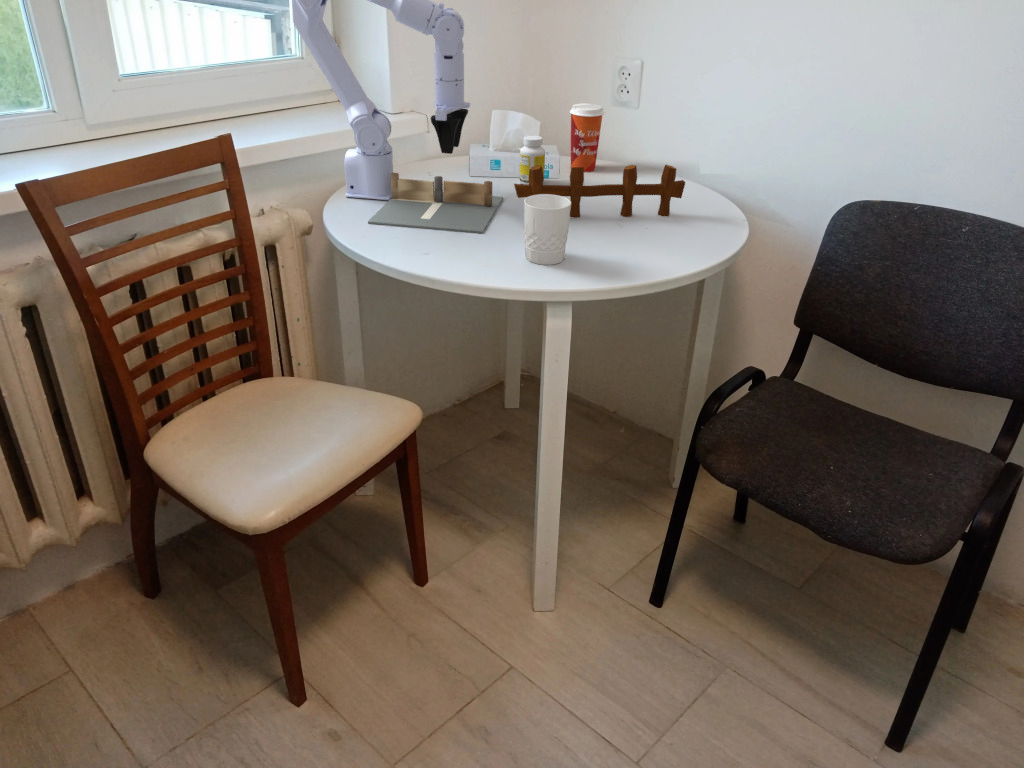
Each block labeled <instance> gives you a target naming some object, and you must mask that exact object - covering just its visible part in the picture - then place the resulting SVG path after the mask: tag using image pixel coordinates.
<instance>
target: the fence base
mask: <svg viewBox="0 0 1024 768" xmlns="http://www.w3.org/2000/svg"><path fill="white" fill-rule="evenodd" d="M443 182H444V180H443V176H441V175H436V176H434V179H433V180H421V179H408V178H400V174H399V172H393V173H391V190H392V199H405V200H418V201H430V202H434V201H435V202H436V203H442V202H443V192H444V189H443ZM434 191H435V195H434Z"/></svg>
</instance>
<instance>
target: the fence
mask: <svg viewBox="0 0 1024 768" xmlns="http://www.w3.org/2000/svg"><path fill="white" fill-rule="evenodd" d="M637 168H638V167H637V165H635V164H630V165H627V166H625V167H624V169H623V173H622V183H621V184H620V183H616V184H611V183H610V184H608V183H607V184H596V185H584V182H585V172H584V167H571V166H570V174H569V184H567V185H565V184H564V185H563V184H544V183H543V180H544V181H545V176H544V177H543V169H542V166H539V165H538V166H534V167H531V168H530V170H529V185H525V184H521V183H513V186H514V189H515V193H516V197H517V198H518V199H520V198H521V199H522V198H527V197H529V196H532V195H539V194H551V195H558V196H562V197H569V198H570V199H569V200H570V201H571V210H570V218H574V219H577V218H580V217H581V200H582V199H581V198H585V197H587V198H588V197H589V198H593V197H604V196H609V197H610V196H622V203H621V204H622V205H621V208H620V216H621V217H623V218H631V217H632V216H633V200H634V196H660V201H659V202H660V203H659V208H658V210H657V211H658V212H657V216H660V217H669V216H670V214H671V213H670V212H671V209H670V208H671V200H672V199H671V198H676V199H682V197H683V193H684V189H685V185H686V181H684V179H682V180H676V178H677V177H676V176H677V168H676V167H674V166H673V165H669V164H665V165H664V166H663V171H662V173H661V177H660V183H638V182H637V181H638V169H637Z"/></svg>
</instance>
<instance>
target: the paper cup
mask: <svg viewBox="0 0 1024 768" xmlns="http://www.w3.org/2000/svg"><path fill="white" fill-rule="evenodd" d="M569 113H570V168H571V167H584V173H591V172H594V171H596V170H595V169H596V164H597V159H598V158H597V157H598V149H599V145H600V143H599V142H600V135H601V128H602V120H603V115H604V114H605V112H604V108H603V107H602V105H600V104H594V103H586V102H585V103H576V104H573V105H572V106H571V109H570V110H569Z"/></svg>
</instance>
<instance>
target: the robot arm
mask: <svg viewBox="0 0 1024 768" xmlns="http://www.w3.org/2000/svg"><path fill="white" fill-rule="evenodd" d="M367 1H368V2H370V3H373V4H375V5H377V6H380V7H382V8H384V9H387V10H390V11H391V12H392V14H393V16H394V18H395V19H394V20H395V21H396V22H397V23H400V24H402V25H404V26H406V27H409V28H410V29H412V30H415V31H416V32H419V33H422V34H424V35H426V36H429V35H432V37H433V38H434V43H435V44H434V52H433V53H434V54H433V67H434V69H433V71H434V73H433V74H434V102H433V108H434V109H435V115H434V114H433V115H431V116H430V122H431V124H432V127H433V128H434V131H435V133H436V135H437V136H436V137H437V139H438V144H439V148H440V151H441V154H447V155H449V154H453V152H454V149H455V148H458V147H459V146H460V143H461V137H462V130H463V126H464V123H465V120H466V117H467V115H468V114H469V108H470V107H471V103H470V102H468V101H465V54H464V52H463V50H464V42H463V38H464V34H465V22H464V19H463V17H462V15H460V13H459V12H457V11H456V10H454V9H453V7H446V8H444V7H445V4H444V3H443V2H439V3H436V2H434V1H432V0H367ZM327 2H328V0H291V10H292V23H293V25H294V27H295V29H296V31H297V32H298V34H299V35H300V37H301V38H302V40H303V42H304V43H305V46H306V47H307V49H308V51H309V52H310V53H311V55H312V57H313V59H314V60H315V62H316V64H317V66H318V67H319V69H320V70H321V72H322V73H323V75H324V77H325V78H326V80H327V82H328V84H329V85H330V87H331V88H332V91H333V92H334V94H335V95H336V97H337V98H338V100H339V102H340V103H341V105H342V107H343V108H344V110H345V112H346V116H347V120H348V123H349V126H350V127H351V129H352V131H353V132H352V133H353V137H354V139H353V140H354V142H355V144H356V147H355V148H349V149H347V151H346V153H345V156H344V161H343V162H344V164H343V165H344V166H343V167H344V178H345V191H346V193H345V197H346V198H358V199H368V200H369V199H371V200H380V201H381V200H382V201H389V200H390V199H391V198H392V190H391V173H394V157H393V156H394V155H393V147H392V145H391V144H390V142H389V141H388V139H389V138H390V136H391V132H392V124H391V121H390V119H389V118H388V116H386V115H385V114H384V113H382V112H381V111H380V110H379V109H378V108H377V106H376V105H375V103H374V101H372V100H371V99H370V98H369V97H368V96H367V94H366V92H365V91H364V89H363V87H362V86H361V83H360V82H359V80H358V79H357V76H356V75H355V73H354V72H353V71H352V69H351V67H350V65H349V63H348V61H347V60H346V58H345V56H344V54H343V53H342V51H341V50H340V48H339V46H338V45H337V43H336V41H335V39H334V38H333V36H332V34H331V32H330V30H329V29H328V27H327V25H326V24H325V21H324V19H323V18H324V14H325V11H326V6H327Z"/></svg>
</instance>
